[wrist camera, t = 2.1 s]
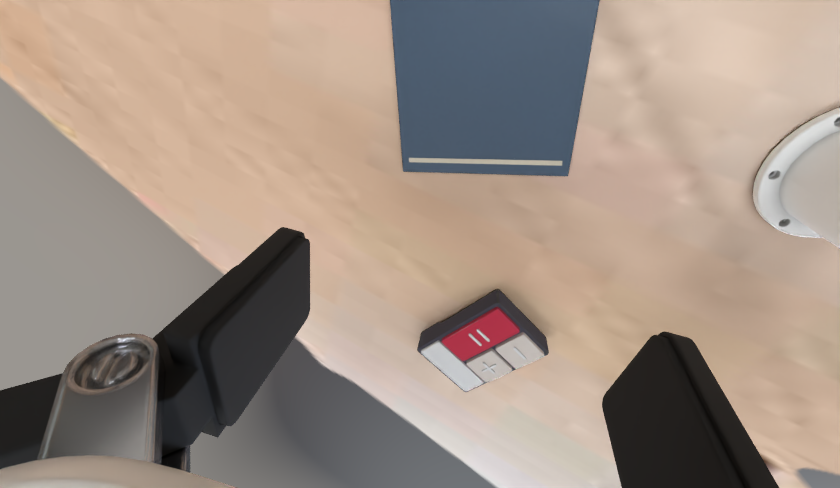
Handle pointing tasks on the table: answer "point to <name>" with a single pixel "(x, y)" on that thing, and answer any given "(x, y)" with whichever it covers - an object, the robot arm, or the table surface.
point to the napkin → (490, 83)
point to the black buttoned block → (483, 342)
